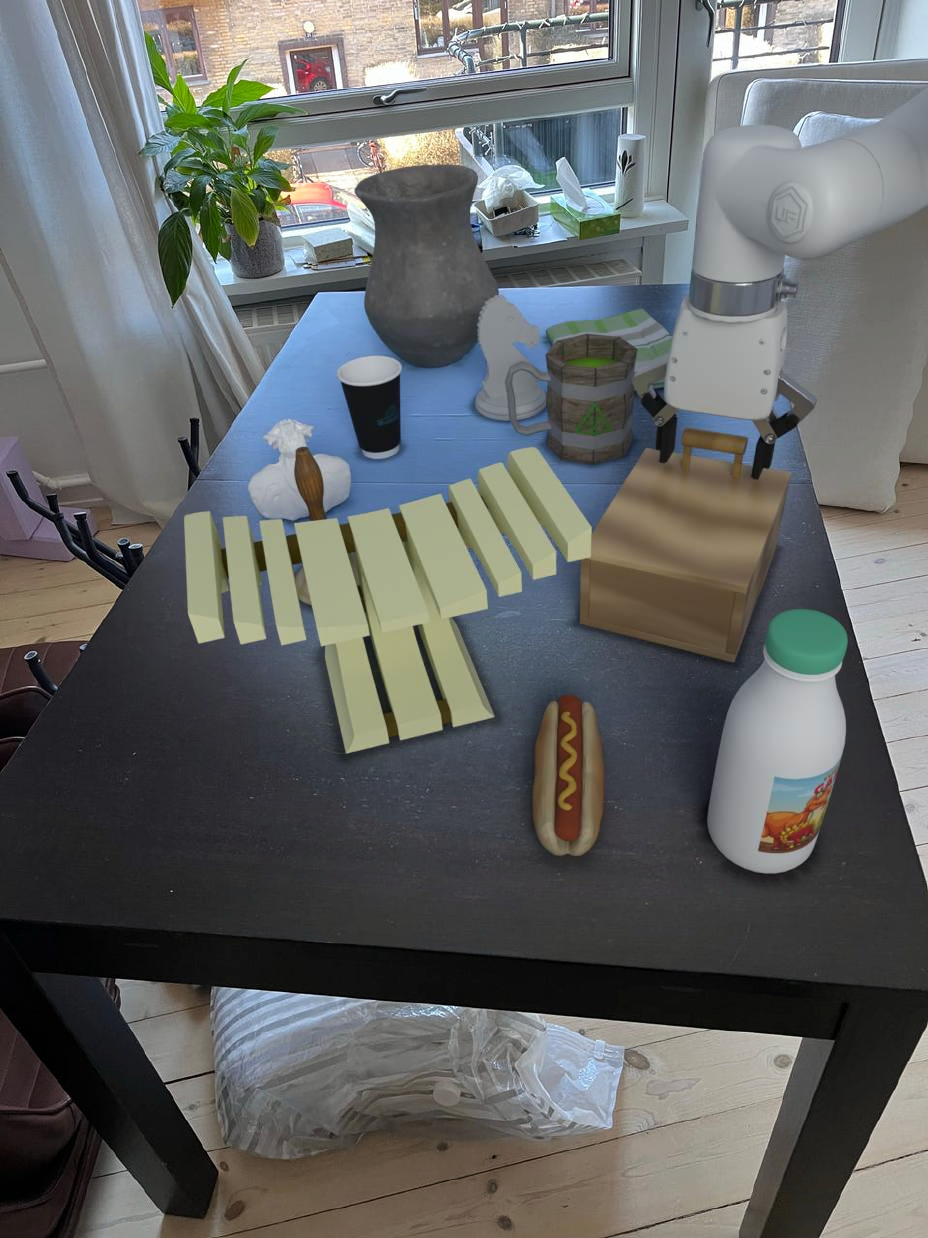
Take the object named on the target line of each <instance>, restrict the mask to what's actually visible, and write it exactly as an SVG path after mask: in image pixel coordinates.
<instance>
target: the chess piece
mask: <svg viewBox="0 0 928 1238" xmlns="http://www.w3.org/2000/svg"><path fill="white" fill-rule="evenodd" d="M478 320H479V322H478V324H477V326H478V330H477V331H478V334H477V335H478V341H479V342H478V343H479V347H480V349H481V353H482V354H483V356H484V359H485V363H486V374H485V377H484V380H482V381H481V386H482V388H481V389H480V390H479V392H478V393H477V394H476V397H475V401H474V405H475V410H476V411H477V412H478V413H479V414H480V415H482V416H483V417H485V418H488V419H491V420H495V421H503V422H504V421H505V422H506V421H507V422H508V421H509V422H510V419H509V412H508V397H507V391H506V385H505V380H506V377H507V374H508V371H509V367H510V366H512V365H514V364H516V363H518V362H520V361H523V362H527V363H531V361H530V360H529V359H528V358H527V357H526V356H525V355H524V354H523V353H522V352H521V351H520V350H519V349H518V348H517V347H516V346H515V344H514V343H522V344H525V346H526V347H527V348H528V349H529V350H533V349H534V348H535V346H537V345H539V343H540V340H541V337H540V335H541V334H540V327H539V326H537V325H533V324H530V323H529V322H528V321H527V320H526V318H525V317H524V316H523V314H522V312H521V311H520V310H519V308H518V307H517V305H516V304H514V303H513V302H511V301H507V299H506V297H505V295H504V294H499V295H495V296H494V298H490V299H489V300H488V301H485V305H484V306H483V307H482V310H481V311H480V316H479V317H478ZM538 382H539V380H538V379H536V378H535V377H534V376H533V375H532V374H531V373H530V372H527V371H524V370H520V371H518V372H516V373H514V374H513V380H512V385H513V390H514V395H515V405H516V419H517V421H520V420H525V419H530V418H532V417H534V416H536V415H538V414H540V413H541V412H543V411H544V410H545V408H547V405H546V397H547V393H546V392H545V390H544V389H543V388H542V387H541V386H540V385H539V384H538Z"/></svg>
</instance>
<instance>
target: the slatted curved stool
mask: <svg viewBox="0 0 928 1238" xmlns="http://www.w3.org/2000/svg"><path fill="white" fill-rule="evenodd" d="M477 471H478V472H477V487H476V486H475V483H474V482H473V480H472V478H471V477H470V478H467V479H464V480H463V479H462V480H460V481H458V482H455V483H452V484H449V485H448V502H445V500H444V499H445V498H444V497H443V495H442V493H437V494H434V495H430V496H427V497H424V498H420V499H417V500H413V501H410V502H406V503H403V504H399V505H398V512H396V513H395V512H394V513H392V512H391V510H390V508H389V507H387V508H383V509H378V510H375V511H370V512H365V513H359V514H353V515H348V516H347V523H342V524H339V519H338V517H334V518H327V519H325V520H317V521H310V520H309V521H301V522H300V521H299V522H294V524H293V525H294V530H295V533H292V534H288V535H287V533H286V530H285V526H284V521H283V519H264V520H259V521H258V522H259V527H260V535H261V540H259V541H255V539H254V535H253V532H252V529H251V525H250V521H249V517H248V515H235V516H234V515H233V516H223V517H222V525H223V533H224V543H225V547H224V548H223V546H222V542H221V539H220V536H219V533H218V529H217V526H216V523H215V520H214V518H213V516H212V513H211V511H208V510H207V511H199V512H193V513H187V514H185V515H184V516H183V522H184V523H183V524H184V525H183V526H184V550H185V552H184V553H185V572H186V573H185V577H186V597H187V599H186V601H187V615H188V618H189V620H190V624H191V626H192V628H193V632H194V635H195V638H196V641H197V644H203V643H208V642H212V641H216V640H220V639H225V638H226V637H225V636H226V635H225V626H224V615H223V614H224V612H223V596H222V595H223V594H224V593H227V592H229V591H230V600H231V611H232V620H233V624H234V627H235V631H236V634H237V638H238V640H239V644H240V645H245V644H249V643H254V642H258V641H262V640H267V634H266V627H265V620H264V613H263V606H262V605H263V604H262V597H261V588H260V587H261V586H263V580H262V573H261V572H266V571H267V576H268V577H267V579H268V583H269V589H270V597H271V602H272V608H273V609H272V610H273V616H274V621H275V625H276V630H277V634H278V638H279V642H280V645H281V646H286V645H291V644H294V643H299V642H303V641H307V635H306V630H305V625H304V620H303V616H302V615H303V614H302V610H301V605H300V600H299V599H298V594H297V583H296V578H295V577H296V573H295V569H294V566H295V565H300V564H302V567H304V571H305V576H306V580H307V585H308V590H309V594H310V599H311V603H312V606H311V607H312V612H313V617H314V621H315V626H316V630H317V635H318V639H319V642H320V643H319V644H320V647H324V659H325V665H326V669H327V673H328V678H329V682H330V688H331V692H332V696H333V697H332V698H333V701H334V705H335V710H336V715H337V718H338V719H337V720H338V723H339V728H340V733H341V738H342V741H343V742H342V743H343V746H344V750H345V751H344V752H345V754H350V753H355V752H358V751H359V752H360V751H364V750H366V749H371V748H375V747H379V746H383V745H387V744H390V739H389V738H392V737H396V736H398V739H399V741H403V740H408V739H411V738H416V737H421V736H424V735H427V734H432V733H435V732H440V731H443V730H444V729H443V725H446V724H449V723H451V725H452V727H453V728H457V727H460V726H464V725H468V724H472V723H477V722H480V721H485V720H489V719H493V718H496V716H495V713H494V711H493V708H492V706H491V704H490V701H489V699H488V697H487V694H486V692H485V689H484V687H483V685H482V682H481V680H480V677H479V675H478V672H477V669H476V667H475V666H474V663H473V660H472V658H471V655H470V653H469V650H468V648H467V645H466V643H465V641H464V638H463V636H462V634H461V630H460V628H459V627H458V625H457V623H456V622H455V620H454V617H459V616H462V615H466V614H467V615H468V614H472V613H475V612H480V611H484V610H485V611H486V610H488V609H489V607H488V605H489V604H488V591H487V588H486V585H485V583H484V581H483V580H482V577H481V575H480V573H479V571H478V569H477V567H476V565H475V562H474V561H473V558H472V556H471V554H470V552H469V550H471V549H472V550H473V552H474V553H475V555H476V557H477V558H478V560H479V562H480V564H481V566H482V568H483V569H484V571H485V574H487V577H488V579H489V580H490V582H491V585H492V586H493V589H494V590H495V592H496V594H497V597H498V598H500V597H505V596H509V595H514V594H519V593H522V592H523V583H522V571H521V569H520V567H519V565H518V564H517V562H516V560H515V558H514V556H513V554H512V552H511V550H510V548H509V547H508V545H507V543H506V541H505V539H504V537H503V536H502V535H503V534H504V535H505V536H506V537H507V539H508V541H509V542H510V544H511V545H512V546H513V548H514V549H515V551H516V553H517V554H518V556H519V557H520V559H521V561H522V563H523V564H524V566H525V568H526V569H527V571H528V572H529V575H530V576H531V579H532V580H534V581H535V580H539V579H543V578H547V577H552V576H556V575H557V550H556V548H555V547H554V545H553V544H552V542H551V540H552V541H553V542H554V544H555V545H556V547H557V548H558V550H559V551H560V552H561V554H562V556H563V557H564V559H565V560H566V562H567V563H571V562H576V561H581V559H585V558H590V557H591V534H592V531H593V530H592V527H593V526H592V525H591V524H590V523H589V521H588V519H587V518H586V517H585V515H584V514H583V512H582V511H581V510H580V508H579V507H578V505H577V504H576V502H575V501H574V499H573V498H572V497H571V494H569V492H568V491H567V490H566V488H565V486H564V485H563V484H562V482H561V480H560V479H559V478H558V477H557V475H556V473H555V472H554V471H553V469H552V468H551V466H550V464H549V463H548V462H547V460H546V459H545V457H544V456H543V455H542V453H541V452H540V451H539V449H538V448H537V447H535V446H527V447H522V448H519V449H516V450H512V451H509V453H508V455H507V460H506V467H505V465H504V463H503V462H502V461H501V462H496V463H493V464H491V465H488V466H487V465H486V466H485V467H482V468H479V469H478V470H477ZM543 528H544V529H545V530H546V532H547V533H548V535H549V536H550V538H551V540H550V539H549V537H548V536H547V534H546V532H545V530H544V529H543ZM348 553H352V554H353V556H354V558H355V562H356V568H357V573H358V579H359V584H360V585H358V586H357V585H356V582H355V578H354V575H353V572H352V568H351V565H350V561H349V558H348ZM414 626H417V628H418V632H419V635H420V639H421V641H422V644H423V647H424V650H425V652H426V655H427V658H428V661H429V663H430V666H431V669H432V671H433V675H434V677H435V680H436V684H437V686H438V689H439V691H440V695H441V697H442V699H441V700H437V699H436V697H435V694H434V690H433V688H432V685H431V681H430V679H429V676H428V672H427V669H426V667H425V665H424V660H423V657H422V653H421V650H420V648H419V644H418V641H417V638H416V634H415V630H414ZM369 636H370V640H371V644H372V648H373V652H374V655H375V658H376V661H377V666H378V668H379V672H380V675H381V679H382V682H383V686H384V689H385V693H386V696H387V699H388V704H389V706H390V711H391V712H385V713H383V709H382V706H381V702H380V698H379V694H378V691H377V688H376V682H375V680H374V676H373V673H372V669H371V665H370V661H369V657H368V653H367V649H366V645H365V642H364V638H365V637H369Z"/></svg>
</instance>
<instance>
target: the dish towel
mask: <svg viewBox="0 0 928 1238" xmlns="http://www.w3.org/2000/svg"><path fill="white" fill-rule="evenodd" d="M584 334H596V335H606V336H616V337H621V338H622V339H624V340H625V341H627V342H628V343H630V344H631V345H632V346H634V347H635V348H637V349H638V350H637V356H636V361H635V369H634V375H635V374H636V373H637V372H639V371H641V370H643V369H646V368H648V367H650V366H652V365H655V364H657V363H659V362H662V361H664V360H666V359H668V357H669V352H670V346H671V341H672V336H673V334H671V333H670V332H668V331H667V329H666V328H665V327H664V325H662V324H661V323H659V322H658V321H657V320H656V319H654V318H653V317H652V316H651V315H650V314H649V313H648V312H647V311H646V310H645V309H644V308H636V309H633V310H630V311H627V312H623V313H621V314H617V315H612V316H608V317H603V318H601V319H597V320H592V319H591V320H589V319H585V320H569V321H565V322H560V323H557V324H554V325H552V326H550V327H548V328H547V329H546V330H545V335H546V338H547V340H548V342H549V343H550V344H551V346H553V345H554V343H555V342H556V341H558V340H562V339H567V338H571V337H575V336H579V335H584ZM664 383H665V377H664V378H662V379H659V380H657V381H655V382H652V386H653V389H654V390H655V389H661V388H664ZM634 392H636V390H635V388H634Z"/></svg>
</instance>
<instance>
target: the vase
mask: <svg viewBox="0 0 928 1238" xmlns="http://www.w3.org/2000/svg"><path fill="white" fill-rule="evenodd" d="M478 183H479V176H478V173H477V172H476V171H475V169H473V168H470V167H468V166H465V165H460V164H452V163H445V164H444V163H443V164H422V165H421V164H420V165H410V166H402V167H399V168H395V169H389V170H385V171H381V172H378V173H375V174H372V175H369V176H367V177H365V178H363V179H362V180H360V181H359V182H358V183H357V185H356V186H355V188H354V194H355V196H356V197H357V198H358V200H360V201H361V203H362V204H363V205H364V206H365V207H366V209H367V210H368V211H369V213H370V215H371V216H372V219H373V223H374V243H373V250H372V251H373V252H372V257H371V263H370V267H369V271H368V276H367V281H366V286H365V292H364V300H363V306H364V312H365V314H366V317H367V319H368V320H367V321H368V322H369V324H370V326H371V328H372V330H374V332H375V334H376V335H377V337H378V338H379V339H380V340H381V341H382V343H383V344H384V345H385V347H387V349H388V350H389V351H391V352H392V353H393V354H394V355H395V356H397V357H398V358H400V359H401V360H403V361H405V362H406V363H408V364H411V365H413V366H416V367H419V368H420V367H421V368H440V367H446V366H447V365H452V364H454V363H456V362H458V361H460V360H461V359H463V357H465V356H466V355H467V354H468V353H470V352H471V351H472V349H474V348H475V347H476V345H477V344H478V343H479V341H478V335H477V334H478V331H477V330H478V326H477V324H478V322H479V320H478V317H479V316H480V311H481V310H482V307H483V306H484V305H485V301H488V300H489V299H490V298H494V296H495V295H498V296H500V291H499V284H498V281H497V279H495V276H493V274H492V272H491V270H490V268H489V265H488V263H487V261H486V260H485V257H484V255H483V254H482V252H481V250H480V247H479V245H478V242H477V240H476V238H475V235H474V232H473V228H472V222H471V208H472V205H473V199H474V195H475V193H476V189H477V186H478Z"/></svg>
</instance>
